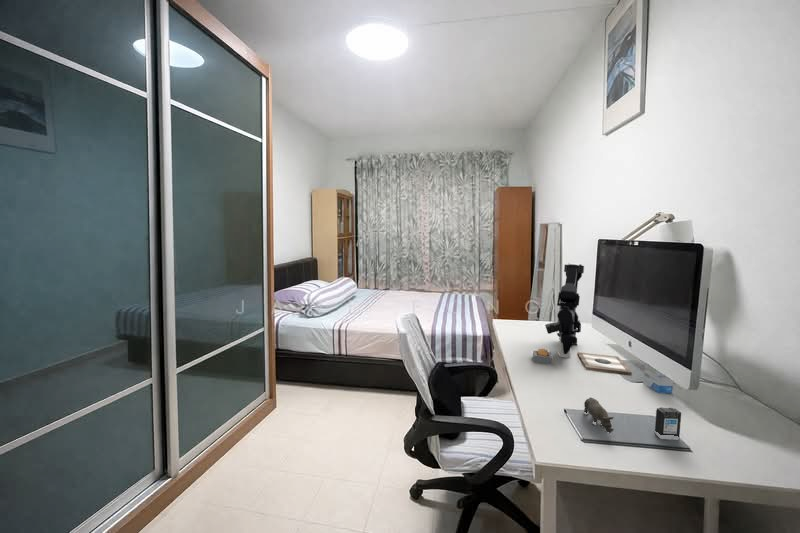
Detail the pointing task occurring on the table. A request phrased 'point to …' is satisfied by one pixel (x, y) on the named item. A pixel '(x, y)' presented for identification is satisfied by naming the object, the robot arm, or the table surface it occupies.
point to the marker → (561, 352)
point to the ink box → (657, 380)
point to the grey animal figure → (598, 413)
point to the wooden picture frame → (603, 363)
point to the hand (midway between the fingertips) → (564, 352)
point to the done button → (542, 352)
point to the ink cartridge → (668, 421)
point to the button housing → (542, 358)
